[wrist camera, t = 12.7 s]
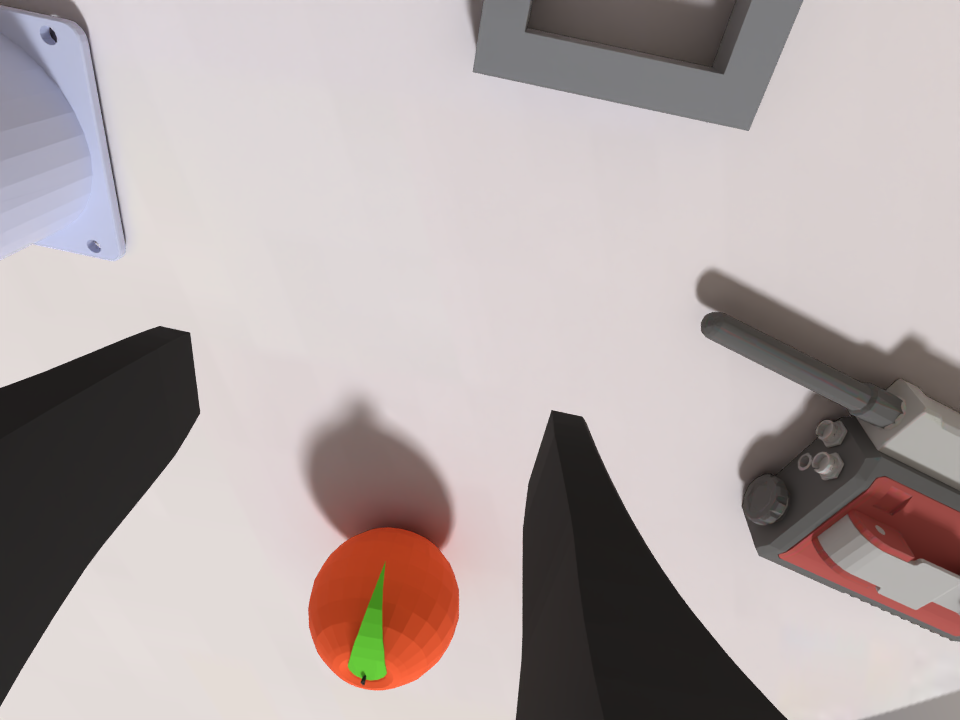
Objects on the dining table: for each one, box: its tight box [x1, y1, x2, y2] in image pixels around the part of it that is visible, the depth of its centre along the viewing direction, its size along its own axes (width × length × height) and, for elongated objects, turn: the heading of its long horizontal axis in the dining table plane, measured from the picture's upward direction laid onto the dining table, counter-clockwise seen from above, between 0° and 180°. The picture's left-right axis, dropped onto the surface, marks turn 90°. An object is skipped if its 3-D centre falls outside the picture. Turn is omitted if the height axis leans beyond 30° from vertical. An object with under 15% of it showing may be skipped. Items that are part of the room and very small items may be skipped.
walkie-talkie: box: [701, 312, 960, 641], centre depth 23 cm, size 9×4×20 cm
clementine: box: [308, 527, 459, 690], centre depth 27 cm, size 8×7×7 cm
